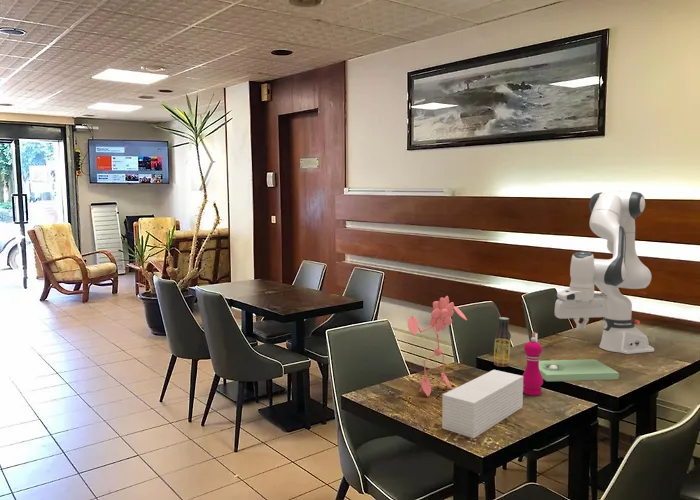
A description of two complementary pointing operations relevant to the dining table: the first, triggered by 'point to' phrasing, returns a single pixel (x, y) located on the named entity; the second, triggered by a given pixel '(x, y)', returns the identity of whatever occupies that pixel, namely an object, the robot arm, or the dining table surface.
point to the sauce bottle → (502, 344)
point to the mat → (575, 369)
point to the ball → (553, 367)
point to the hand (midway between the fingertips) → (580, 328)
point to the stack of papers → (482, 403)
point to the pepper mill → (532, 368)
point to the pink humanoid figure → (439, 321)
